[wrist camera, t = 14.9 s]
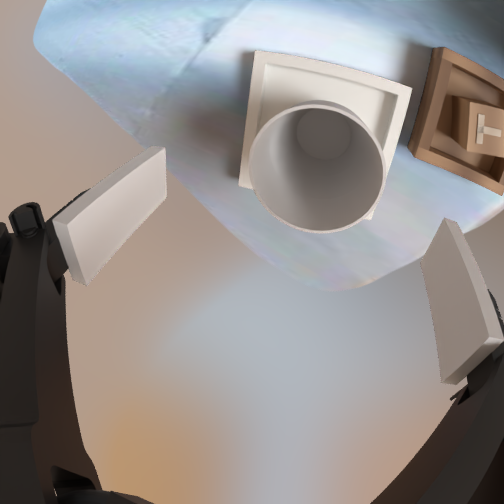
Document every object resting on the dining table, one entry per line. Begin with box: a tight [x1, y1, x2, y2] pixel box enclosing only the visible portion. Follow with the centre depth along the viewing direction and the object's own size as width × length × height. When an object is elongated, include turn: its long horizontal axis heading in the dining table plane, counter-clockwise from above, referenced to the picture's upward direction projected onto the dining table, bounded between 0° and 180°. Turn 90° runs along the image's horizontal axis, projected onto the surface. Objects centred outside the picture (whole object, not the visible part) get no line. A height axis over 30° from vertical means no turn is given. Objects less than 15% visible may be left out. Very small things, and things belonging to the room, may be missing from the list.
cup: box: [248, 100, 386, 233], centre depth 20 cm, size 8×8×10 cm
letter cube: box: [451, 95, 504, 158], centre depth 17 cm, size 4×4×4 cm
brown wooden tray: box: [407, 47, 504, 196], centre depth 18 cm, size 10×10×3 cm
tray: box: [238, 50, 412, 220], centre depth 24 cm, size 13×13×2 cm
